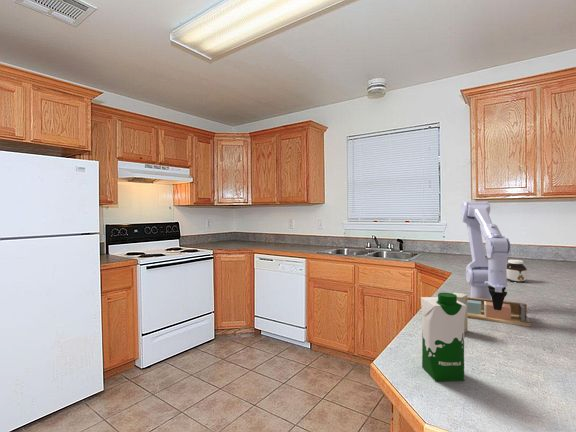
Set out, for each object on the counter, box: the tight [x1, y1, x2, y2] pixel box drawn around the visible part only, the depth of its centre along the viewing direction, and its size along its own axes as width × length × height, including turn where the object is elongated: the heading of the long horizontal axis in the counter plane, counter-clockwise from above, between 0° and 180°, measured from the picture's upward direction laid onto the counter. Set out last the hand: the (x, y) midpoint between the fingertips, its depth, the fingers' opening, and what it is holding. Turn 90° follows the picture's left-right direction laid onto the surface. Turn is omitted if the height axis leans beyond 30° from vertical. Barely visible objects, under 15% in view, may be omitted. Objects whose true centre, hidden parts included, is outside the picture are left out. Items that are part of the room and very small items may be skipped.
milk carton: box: [420, 292, 467, 382], centre depth 81 cm, size 9×9×20 cm
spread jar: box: [507, 259, 528, 284], centre depth 183 cm, size 12×11×12 cm
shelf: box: [467, 296, 531, 327], centre depth 123 cm, size 12×20×5 cm, turn 60°
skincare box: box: [452, 291, 469, 334], centre depth 109 cm, size 6×4×12 cm
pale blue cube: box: [467, 300, 481, 315], centre depth 126 cm, size 4×5×4 cm
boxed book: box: [484, 301, 511, 320], centre depth 121 cm, size 5×8×4 cm, turn 61°
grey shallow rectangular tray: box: [518, 302, 531, 324], centre depth 117 cm, size 7×2×5 cm, turn 151°
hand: (497, 307), depth 121 cm, fingers closed on boxed book, 5 cm apart
